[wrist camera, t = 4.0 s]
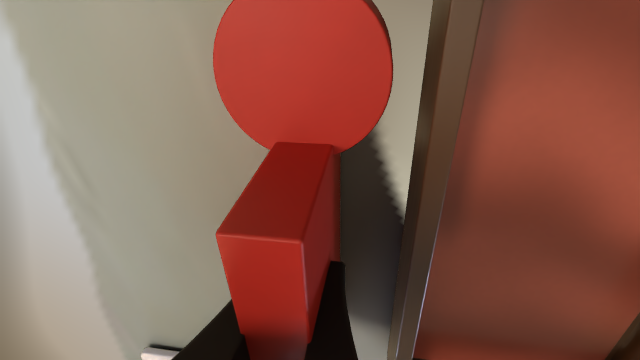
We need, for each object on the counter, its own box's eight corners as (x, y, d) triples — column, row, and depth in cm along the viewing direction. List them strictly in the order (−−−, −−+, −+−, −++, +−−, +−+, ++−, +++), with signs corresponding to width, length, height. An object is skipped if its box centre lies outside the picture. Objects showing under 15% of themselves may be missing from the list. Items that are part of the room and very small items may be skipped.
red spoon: (371, 312, 15) (364, 470, 10) (276, 300, 15) (228, 443, 11) (399, -32, 8) (419, -47, 3) (227, -26, 9) (37, -29, 4)
